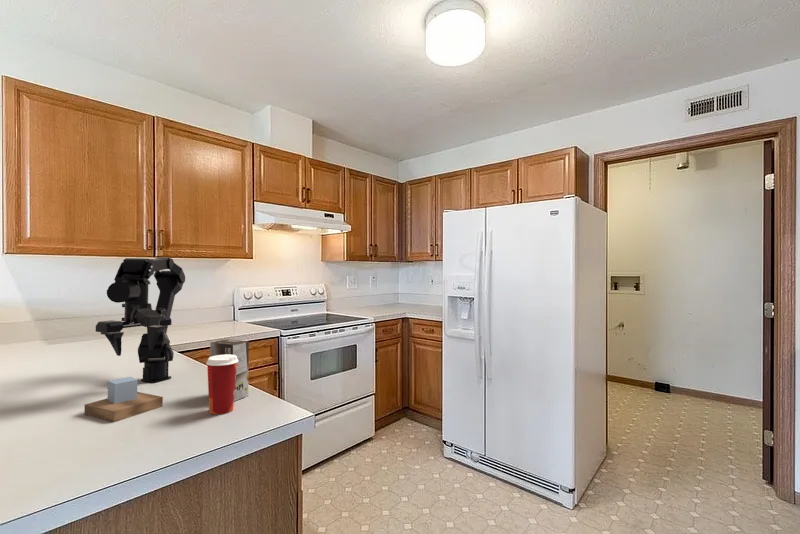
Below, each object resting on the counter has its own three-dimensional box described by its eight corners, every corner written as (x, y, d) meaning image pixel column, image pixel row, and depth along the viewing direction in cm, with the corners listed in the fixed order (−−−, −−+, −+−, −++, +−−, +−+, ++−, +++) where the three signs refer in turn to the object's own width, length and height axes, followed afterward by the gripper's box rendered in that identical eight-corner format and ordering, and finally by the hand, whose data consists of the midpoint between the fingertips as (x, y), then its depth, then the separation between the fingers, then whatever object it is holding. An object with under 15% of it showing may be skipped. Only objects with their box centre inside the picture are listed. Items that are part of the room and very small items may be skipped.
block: (129, 395, 103) (130, 376, 103) (137, 398, 100) (137, 379, 100) (107, 399, 99) (107, 380, 99) (114, 403, 96) (114, 384, 96)
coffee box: (249, 395, 111) (250, 340, 111) (232, 402, 105) (233, 344, 105) (226, 391, 114) (226, 338, 115) (208, 398, 109) (209, 342, 109)
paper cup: (243, 407, 101) (244, 355, 101) (221, 418, 94) (222, 361, 94) (220, 404, 104) (221, 353, 104) (197, 413, 96) (198, 358, 97)
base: (133, 400, 106) (133, 391, 106) (162, 406, 102) (162, 396, 102) (84, 414, 95) (84, 404, 95) (114, 422, 91) (114, 411, 91)
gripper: (120, 303, 101) (118, 361, 101) (184, 299, 118) (183, 349, 118) (95, 301, 106) (93, 358, 105) (160, 298, 123) (159, 346, 122)
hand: (135, 352), depth 113 cm, fingers open, 9 cm apart
